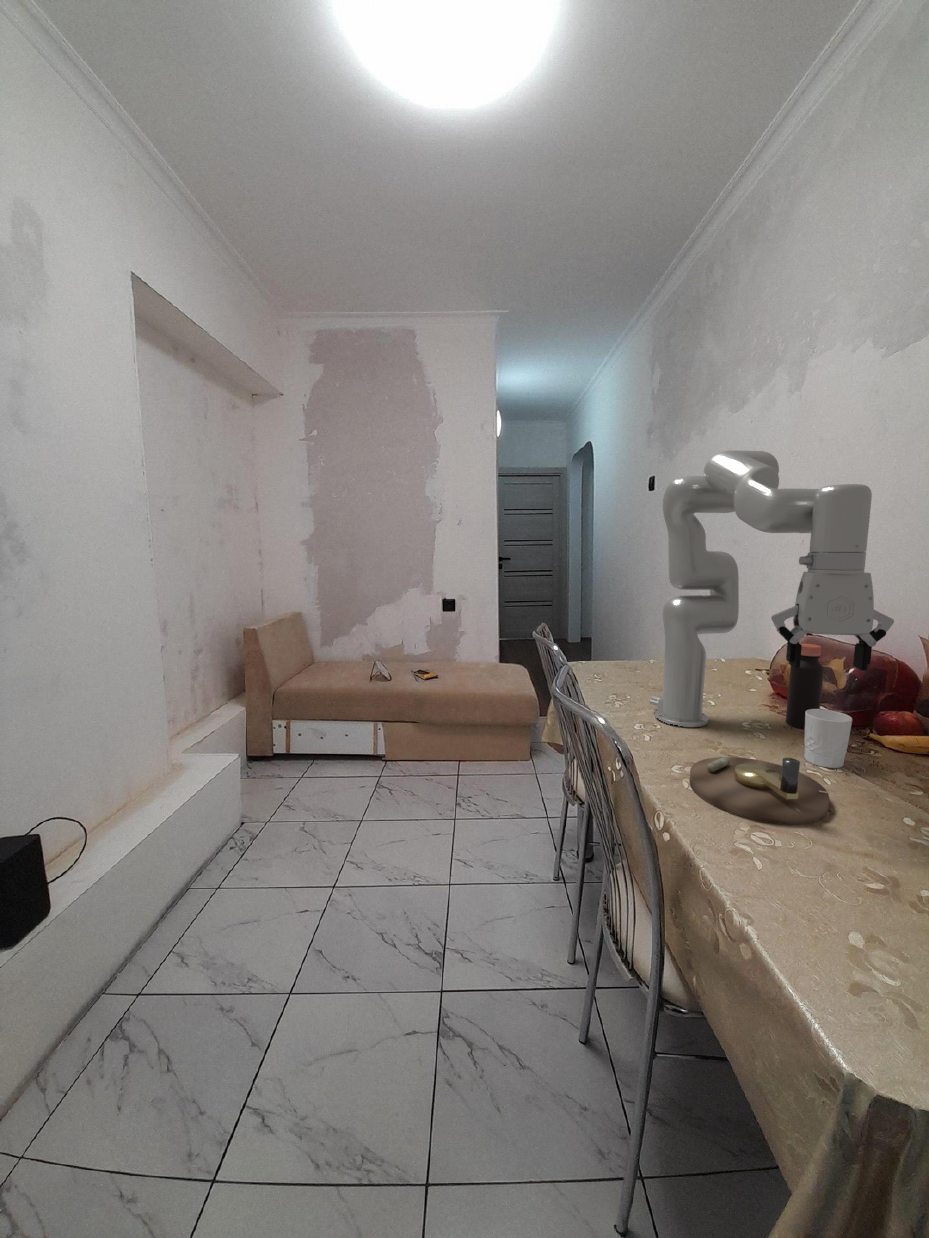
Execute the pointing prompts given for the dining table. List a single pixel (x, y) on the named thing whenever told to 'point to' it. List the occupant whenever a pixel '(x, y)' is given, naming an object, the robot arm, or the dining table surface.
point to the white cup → (826, 737)
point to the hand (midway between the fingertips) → (826, 667)
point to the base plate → (756, 793)
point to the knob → (771, 777)
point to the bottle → (804, 686)
